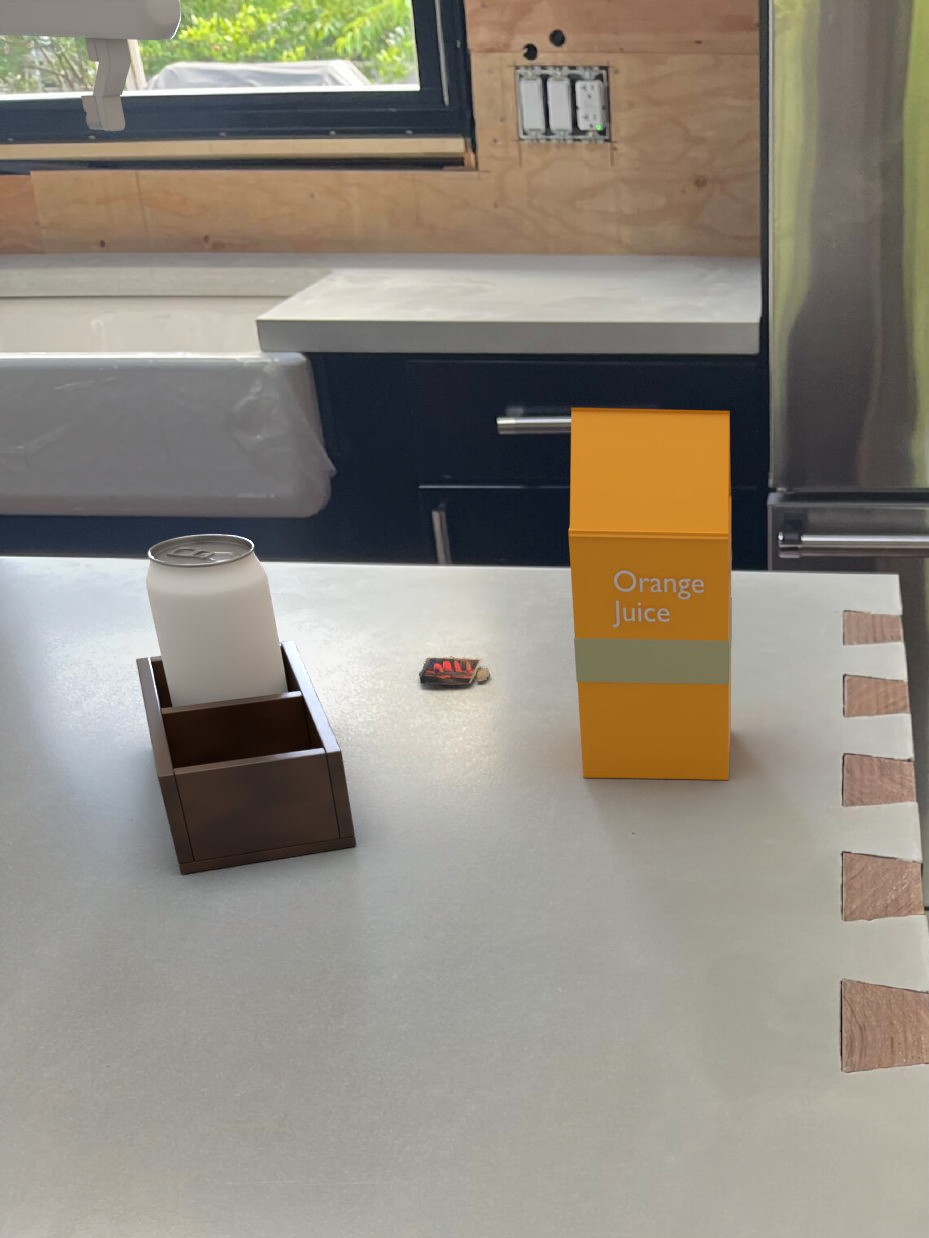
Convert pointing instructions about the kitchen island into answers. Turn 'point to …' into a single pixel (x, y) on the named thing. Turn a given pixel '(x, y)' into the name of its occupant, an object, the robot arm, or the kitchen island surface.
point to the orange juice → (652, 591)
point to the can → (214, 619)
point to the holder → (248, 772)
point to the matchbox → (452, 671)
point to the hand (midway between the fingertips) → (38, 127)
